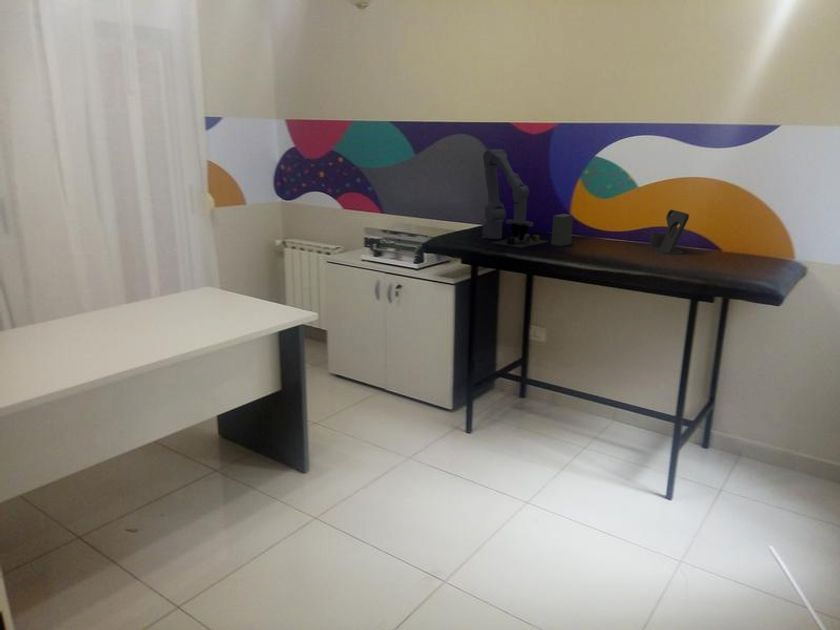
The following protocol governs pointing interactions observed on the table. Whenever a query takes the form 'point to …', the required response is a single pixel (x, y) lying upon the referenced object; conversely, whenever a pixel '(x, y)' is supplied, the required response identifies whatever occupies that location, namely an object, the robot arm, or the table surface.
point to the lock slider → (535, 237)
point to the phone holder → (670, 234)
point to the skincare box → (562, 229)
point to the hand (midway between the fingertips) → (518, 240)
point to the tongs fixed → (518, 236)
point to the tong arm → (517, 240)
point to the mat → (522, 244)
